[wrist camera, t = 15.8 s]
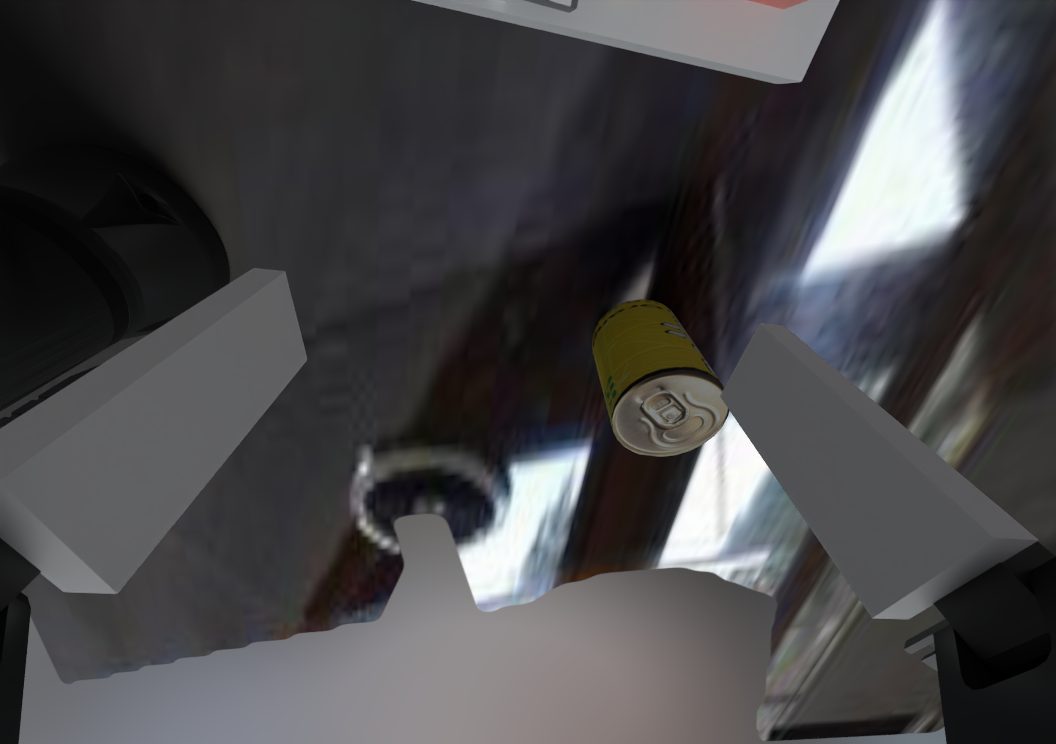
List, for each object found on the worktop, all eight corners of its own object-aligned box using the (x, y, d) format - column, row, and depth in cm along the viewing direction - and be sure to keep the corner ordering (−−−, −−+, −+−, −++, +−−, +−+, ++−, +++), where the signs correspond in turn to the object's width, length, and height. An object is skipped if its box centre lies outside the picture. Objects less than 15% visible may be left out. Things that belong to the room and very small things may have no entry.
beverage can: (629, 387, 43) (658, 471, 33) (573, 342, 40) (588, 420, 30) (697, 336, 39) (752, 414, 29) (642, 281, 36) (684, 348, 26)
